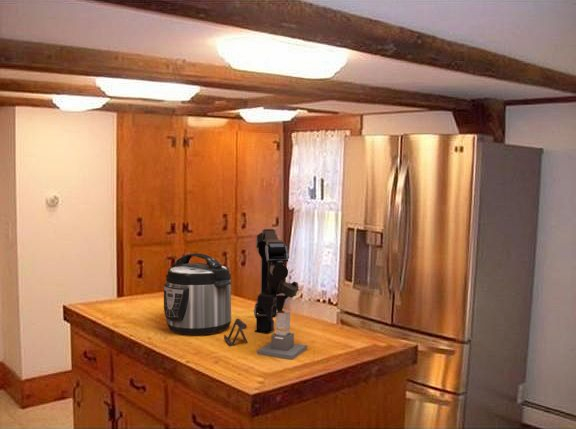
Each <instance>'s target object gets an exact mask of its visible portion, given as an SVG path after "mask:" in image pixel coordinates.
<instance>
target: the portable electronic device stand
mask: <svg viewBox="0 0 576 429" xmlns="http://www.w3.org/2000/svg"><path fill="white" fill-rule="evenodd" d="M236 327H238V329H237V331H236V333H235V336H234V338H233V340H231V337H232V335H233V333H234V330H235V328H236ZM247 328H248V326H247V324H246V323H245V322H244V321H243V320H241V319H240V318H236V319H235V321H234V323H233V325H232V328H231V329H230V332H229V334H228V335H227V336H226V334H224V335H223V339H224V341H225V342H226V343H227V344H228V345H229V346H231V347H233V346H235V344H236V341H237V339H238V336H239V335H240V334H241V336H242V339H243V341H245V344H246V343H248V340H247V338H246V335H245V333H244V331H243V330H246V329H247Z"/></svg>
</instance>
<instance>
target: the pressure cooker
mask: <svg viewBox="0 0 576 429" xmlns="http://www.w3.org/2000/svg"><path fill="white" fill-rule="evenodd" d="M192 257H197V258H200V259H203V260H205V261H206V263H201V262H190V261H191V259H192ZM165 278H166V279H165V283H163V312H164V316H165V318H166V325H167V327H168V329H169V330H170V331H171V332H173V333H177V334H180V335H181V334H182V335H193V336H194V335H197V336H198V335H199V336H202V335H209V334H215V333H218V332H221V331H224V330H227V329H228V328H229V327H230V325H231V323H232V274H231V273H230V268H229V267H228V266H226V265H222V263H221V262H220V261H219V260H217V259H215V258H214V257H212V256H210V255H208V254H203V253H196V252H195V253H189V254H188V253H187V254H186V255H185V254H184V255H183V256H181V257H179V258H177V259H176V261H175V262H174V263H172V264H171V267H170V268H168V269H167V274H166V276H165Z"/></svg>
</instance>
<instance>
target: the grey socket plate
mask: <svg viewBox="0 0 576 429" xmlns="http://www.w3.org/2000/svg"><path fill="white" fill-rule="evenodd" d="M270 337H271V338H270V342H269V343H266V344H265V345H263V346H262V347H260V348H259V349H257V350H256V354H257V355H261V356H266V357H273V358H279V359H286V360H291V361H293V360H294V359H296V358H297V357H298V356H299V355H301V354H302V353H304V352H305V351H306V350H307V349H308V345H307V344H303V343H302V344H300V343H295V341H294V340H295V333H293V332H290V335H288V336H287V337H283V336H276V332H274V333H273V334H272V335H271V336H270Z"/></svg>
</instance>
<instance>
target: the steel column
mask: <svg viewBox="0 0 576 429" xmlns="http://www.w3.org/2000/svg"><path fill="white" fill-rule="evenodd" d="M274 331H275V333H276V336H283V337H287V336H288V335H290V333H291V311H289V310H280V311H277V312H276V317H275V327H274Z"/></svg>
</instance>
